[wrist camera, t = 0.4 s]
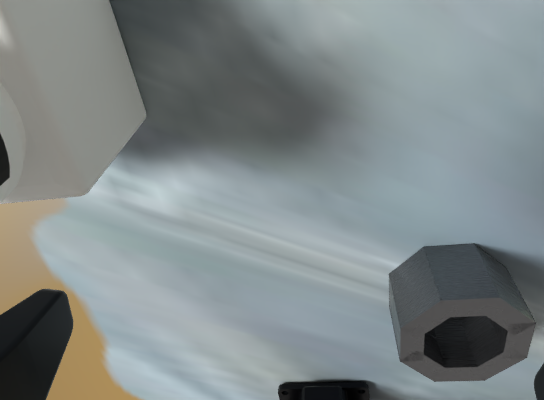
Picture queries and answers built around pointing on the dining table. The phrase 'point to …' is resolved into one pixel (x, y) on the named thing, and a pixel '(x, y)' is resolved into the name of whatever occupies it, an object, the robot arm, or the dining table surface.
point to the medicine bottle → (62, 97)
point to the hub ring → (458, 314)
